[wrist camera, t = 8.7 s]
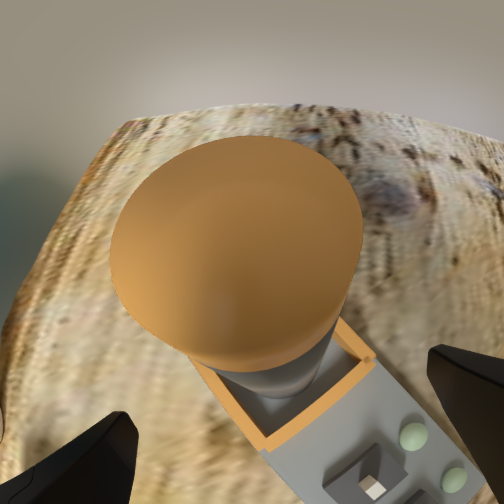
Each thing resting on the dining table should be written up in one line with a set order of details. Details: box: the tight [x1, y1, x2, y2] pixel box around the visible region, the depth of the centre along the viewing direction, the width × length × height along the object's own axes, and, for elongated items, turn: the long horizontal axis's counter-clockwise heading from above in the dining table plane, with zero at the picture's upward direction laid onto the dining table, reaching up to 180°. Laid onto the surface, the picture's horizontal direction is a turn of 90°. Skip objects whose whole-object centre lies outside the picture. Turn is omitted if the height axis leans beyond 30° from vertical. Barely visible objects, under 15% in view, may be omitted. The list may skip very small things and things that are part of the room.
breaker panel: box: [188, 316, 487, 504], centre depth 13 cm, size 22×9×4 cm, turn 37°
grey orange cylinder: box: [110, 136, 363, 399], centre depth 11 cm, size 5×5×14 cm
